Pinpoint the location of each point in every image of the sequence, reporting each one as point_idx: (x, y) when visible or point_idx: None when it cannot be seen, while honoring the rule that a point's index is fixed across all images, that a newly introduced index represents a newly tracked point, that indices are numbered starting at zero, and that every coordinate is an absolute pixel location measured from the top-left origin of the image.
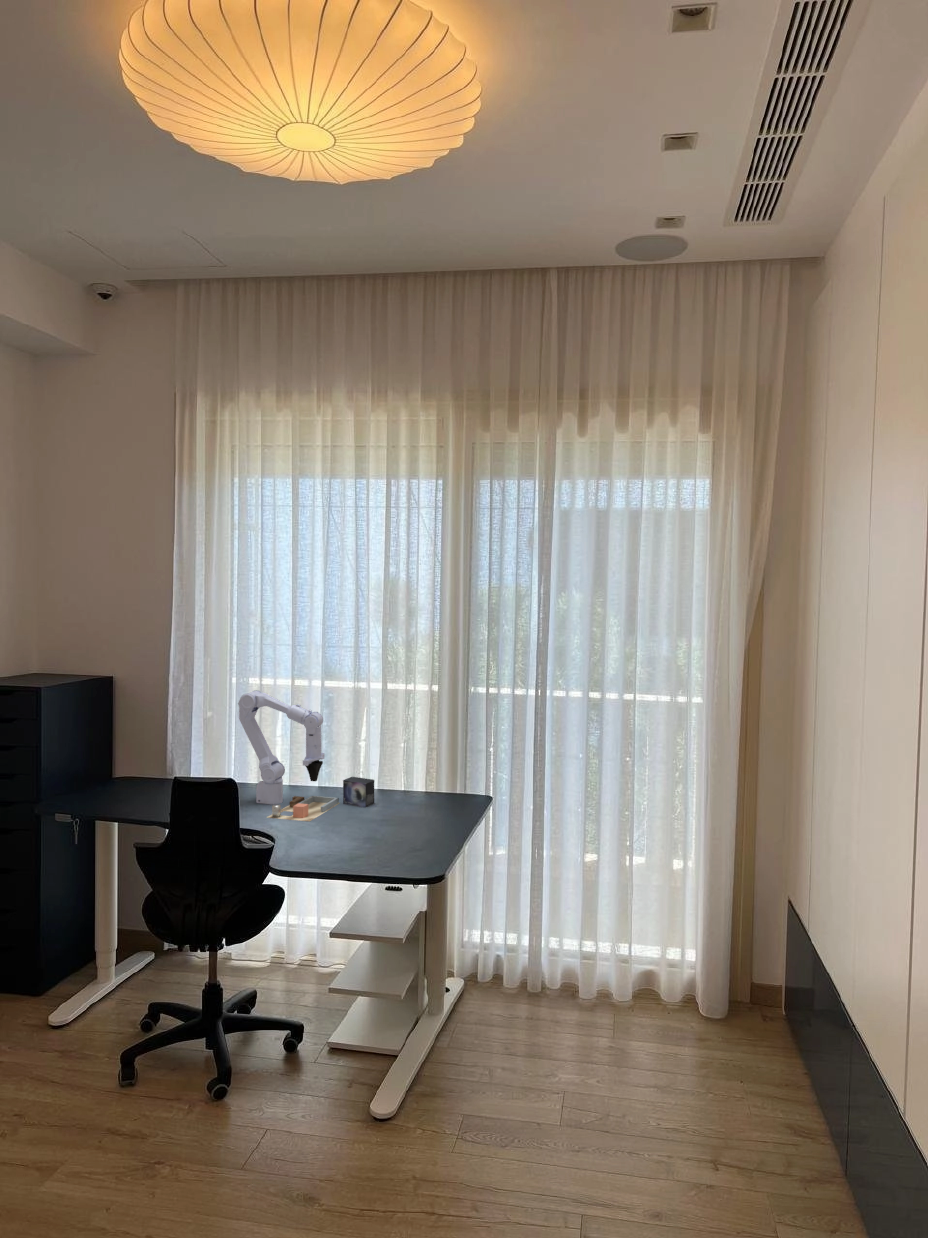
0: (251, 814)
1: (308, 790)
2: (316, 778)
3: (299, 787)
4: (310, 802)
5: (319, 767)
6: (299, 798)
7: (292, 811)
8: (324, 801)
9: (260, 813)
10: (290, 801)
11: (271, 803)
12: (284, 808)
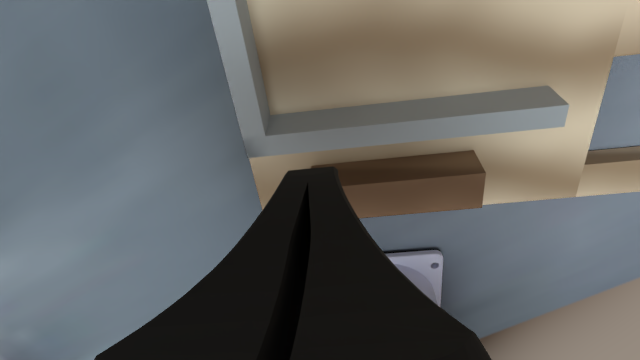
0: (591, 291)
1: (19, 292)
2: (326, 182)
3: (16, 346)
4: (320, 113)
5: (254, 299)
6: (368, 196)
7: (592, 105)
8: (246, 15)
9: (564, 268)
10: (474, 206)
11: (434, 298)
12: (515, 193)
